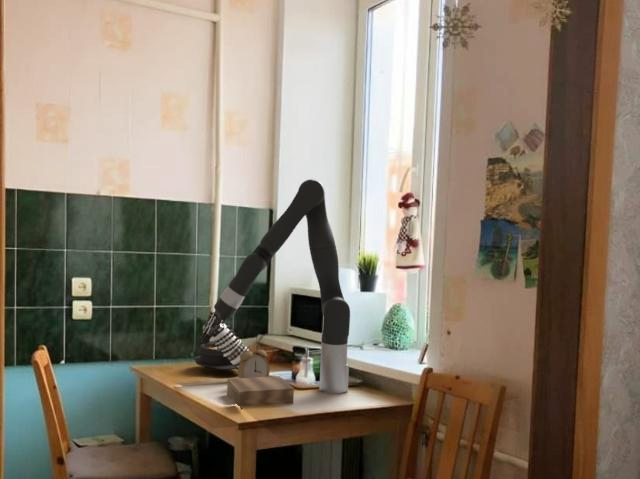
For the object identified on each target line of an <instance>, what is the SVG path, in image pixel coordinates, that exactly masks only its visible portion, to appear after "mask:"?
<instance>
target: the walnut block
mask: <svg viewBox="0 0 640 479" xmlns="http://www.w3.org/2000/svg"><path fill="white" fill-rule="evenodd" d="M294 394H295V388H294V387H293V386H292V385H291V384H290V383H288V382H287V381H286V380H285V379H284V378H282V377H281V376H280V375H276V376H275V375H274V376H268V377H253V378H239V377H237V378H227V390H226V395H227V396H228V397H229V398H230V400H232V401H233V402H234V404H235V403H236V404H237V405H238V406H240V407H249V406H250V407H251V406H253V405H254V406H271V404H274V405H286V404H287V405H290V404H289V403H293V404H294V401H295V400H294V398H295V395H294Z"/></svg>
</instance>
